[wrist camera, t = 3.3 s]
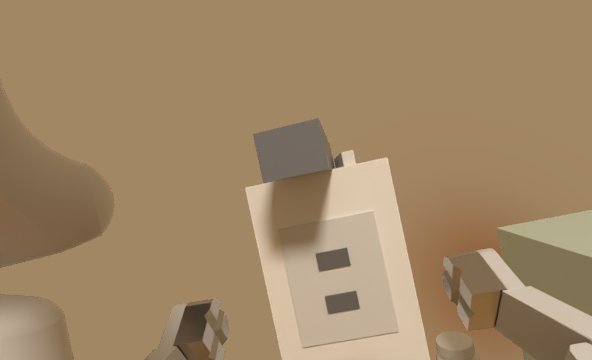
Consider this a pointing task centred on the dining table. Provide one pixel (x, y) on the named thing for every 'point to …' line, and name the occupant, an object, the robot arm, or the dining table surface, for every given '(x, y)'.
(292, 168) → the bar
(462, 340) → the supplement bottle
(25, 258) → the robot arm
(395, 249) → the outlet wall
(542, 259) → the pale green block
